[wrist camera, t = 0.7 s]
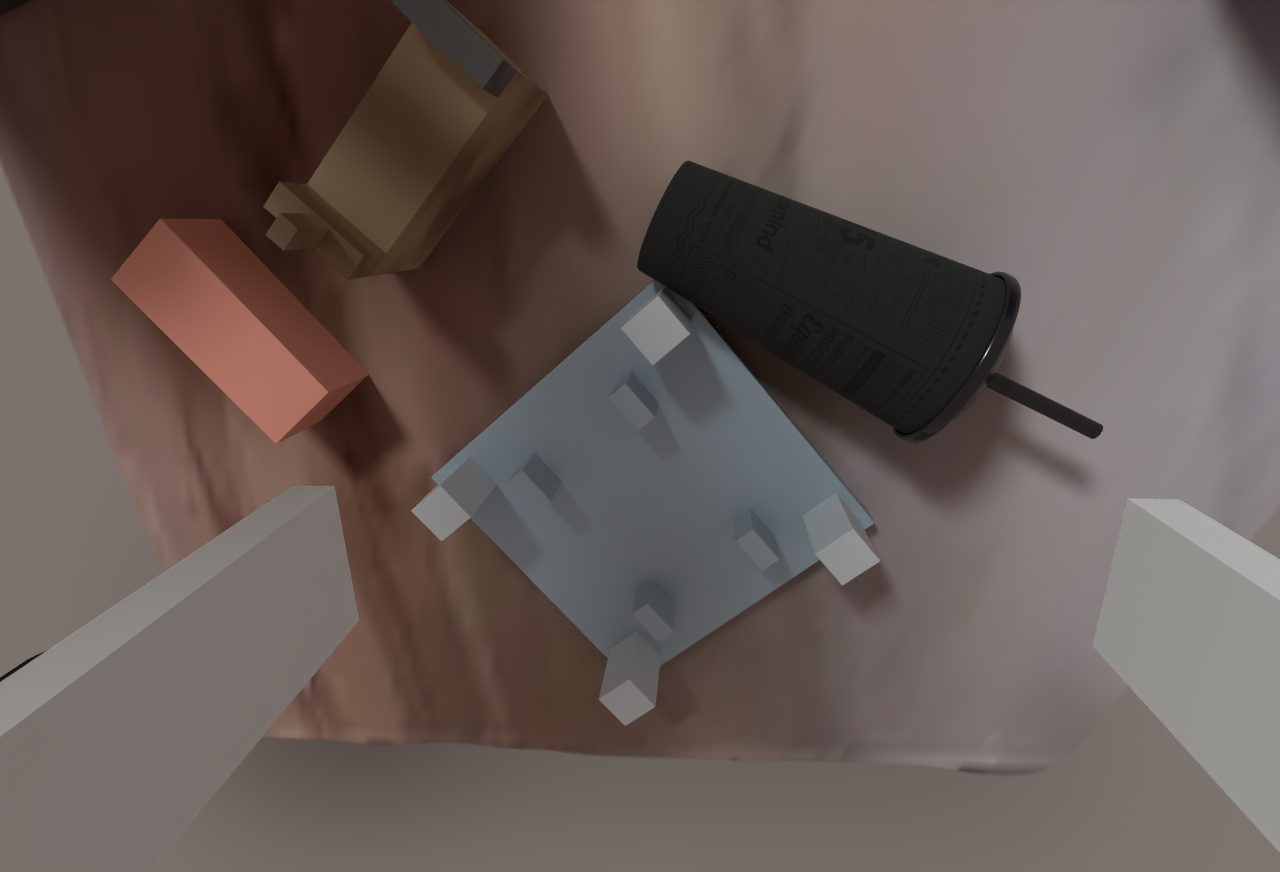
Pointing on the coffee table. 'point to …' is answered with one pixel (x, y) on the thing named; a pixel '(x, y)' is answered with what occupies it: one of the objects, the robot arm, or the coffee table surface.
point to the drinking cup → (842, 301)
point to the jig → (652, 492)
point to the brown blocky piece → (409, 149)
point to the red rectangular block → (238, 324)
